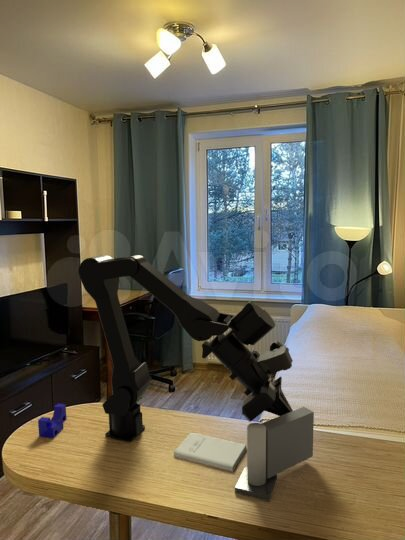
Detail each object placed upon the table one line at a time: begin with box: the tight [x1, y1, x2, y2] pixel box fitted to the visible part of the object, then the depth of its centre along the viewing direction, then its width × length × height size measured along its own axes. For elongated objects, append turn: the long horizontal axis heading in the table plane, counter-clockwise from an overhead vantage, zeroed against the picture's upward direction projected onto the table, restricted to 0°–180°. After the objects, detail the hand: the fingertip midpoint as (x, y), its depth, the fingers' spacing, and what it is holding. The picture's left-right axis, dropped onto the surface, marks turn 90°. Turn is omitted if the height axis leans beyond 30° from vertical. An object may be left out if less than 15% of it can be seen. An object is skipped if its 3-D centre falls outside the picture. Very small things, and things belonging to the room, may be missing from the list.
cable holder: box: [37, 403, 68, 439], centre depth 92 cm, size 8×4×4 cm, turn 169°
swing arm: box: [246, 406, 315, 486], centre depth 74 cm, size 3×15×10 cm, turn 124°
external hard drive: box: [173, 432, 247, 472], centre depth 82 cm, size 2×8×12 cm
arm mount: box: [234, 466, 278, 502], centre depth 72 cm, size 6×6×1 cm
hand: (293, 418), depth 79 cm, fingers closed
